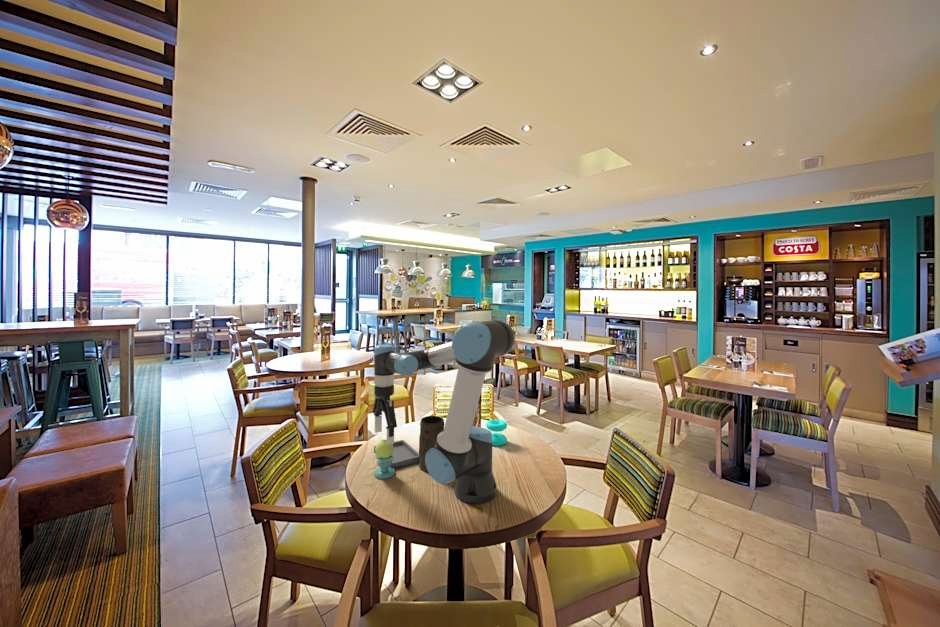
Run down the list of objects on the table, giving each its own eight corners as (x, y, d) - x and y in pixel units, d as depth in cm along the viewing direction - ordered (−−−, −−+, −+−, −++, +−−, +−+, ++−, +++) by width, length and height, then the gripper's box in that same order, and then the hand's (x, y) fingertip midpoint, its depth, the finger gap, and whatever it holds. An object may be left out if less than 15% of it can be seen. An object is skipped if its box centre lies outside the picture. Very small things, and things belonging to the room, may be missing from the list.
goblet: (398, 475, 143) (398, 457, 143) (378, 481, 139) (378, 462, 138) (390, 467, 150) (390, 450, 149) (371, 472, 145) (371, 454, 145)
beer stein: (412, 467, 149) (414, 420, 148) (427, 457, 159) (429, 412, 157) (444, 479, 142) (447, 430, 141) (457, 467, 152) (460, 421, 150)
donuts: (498, 427, 168) (482, 422, 175) (498, 448, 169) (481, 442, 175) (511, 421, 176) (494, 417, 182) (510, 442, 176) (494, 436, 183)
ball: (396, 459, 143) (396, 441, 143) (379, 463, 139) (378, 445, 139) (389, 452, 149) (389, 435, 148) (373, 456, 145) (372, 439, 145)
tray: (421, 461, 155) (421, 455, 155) (390, 469, 148) (390, 464, 147) (403, 444, 172) (403, 439, 172) (373, 451, 164) (373, 446, 164)
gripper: (406, 391, 134) (405, 447, 135) (382, 376, 155) (382, 425, 156) (386, 393, 130) (386, 452, 131) (364, 378, 151) (364, 429, 152)
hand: (384, 437), depth 144 cm, fingers open, 13 cm apart
